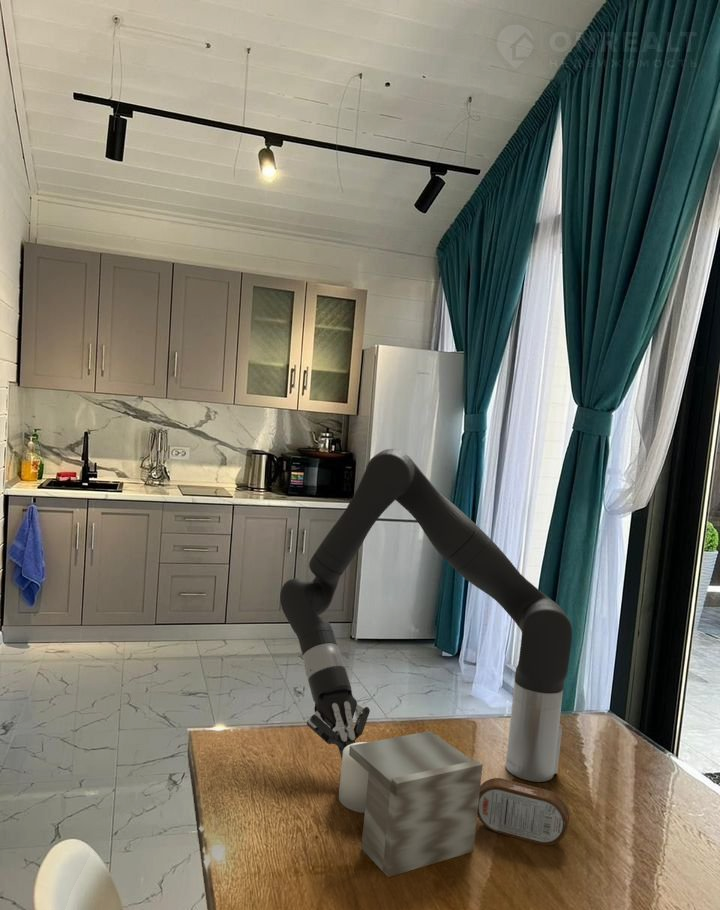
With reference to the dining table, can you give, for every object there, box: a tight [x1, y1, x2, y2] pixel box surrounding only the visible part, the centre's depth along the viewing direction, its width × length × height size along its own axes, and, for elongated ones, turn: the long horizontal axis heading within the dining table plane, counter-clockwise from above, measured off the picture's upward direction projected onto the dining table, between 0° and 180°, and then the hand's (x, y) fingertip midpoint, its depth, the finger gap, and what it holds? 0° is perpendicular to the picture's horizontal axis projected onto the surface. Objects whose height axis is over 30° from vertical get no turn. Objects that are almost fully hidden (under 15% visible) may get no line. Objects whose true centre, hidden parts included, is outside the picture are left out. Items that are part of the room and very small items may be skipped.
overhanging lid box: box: [349, 730, 484, 878], centre depth 115 cm, size 16×14×14 cm
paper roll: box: [338, 741, 369, 814], centre depth 126 cm, size 9×9×8 cm
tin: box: [477, 777, 570, 846], centre depth 119 cm, size 15×3×8 cm, turn 71°
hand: (352, 764), depth 130 cm, fingers closed
